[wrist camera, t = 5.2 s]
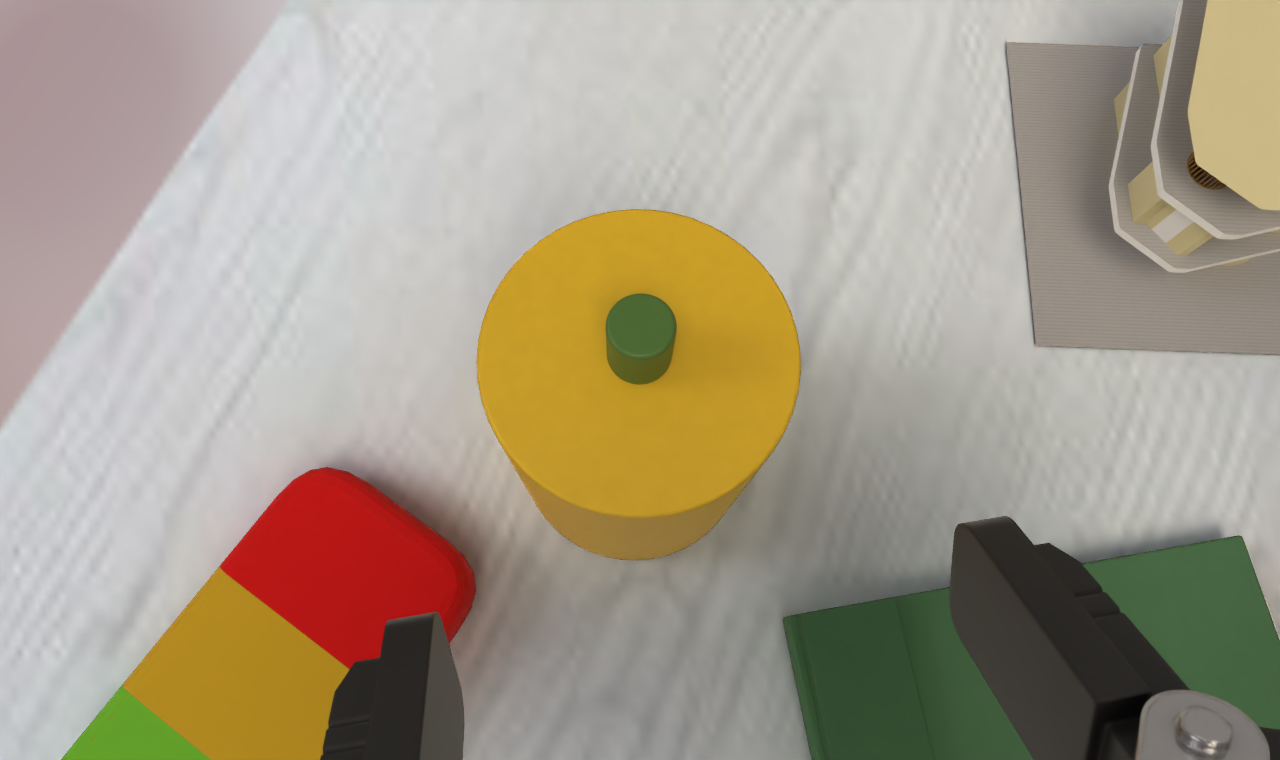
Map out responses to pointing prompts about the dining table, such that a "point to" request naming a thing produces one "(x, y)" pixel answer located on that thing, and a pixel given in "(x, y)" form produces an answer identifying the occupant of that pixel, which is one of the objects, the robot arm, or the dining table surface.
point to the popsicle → (282, 629)
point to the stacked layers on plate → (1155, 184)
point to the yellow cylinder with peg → (637, 377)
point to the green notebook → (959, 695)
